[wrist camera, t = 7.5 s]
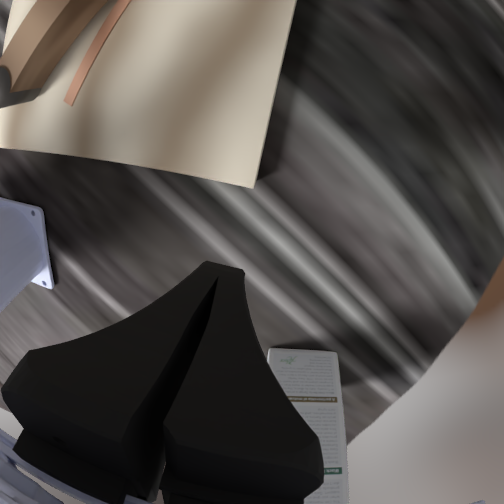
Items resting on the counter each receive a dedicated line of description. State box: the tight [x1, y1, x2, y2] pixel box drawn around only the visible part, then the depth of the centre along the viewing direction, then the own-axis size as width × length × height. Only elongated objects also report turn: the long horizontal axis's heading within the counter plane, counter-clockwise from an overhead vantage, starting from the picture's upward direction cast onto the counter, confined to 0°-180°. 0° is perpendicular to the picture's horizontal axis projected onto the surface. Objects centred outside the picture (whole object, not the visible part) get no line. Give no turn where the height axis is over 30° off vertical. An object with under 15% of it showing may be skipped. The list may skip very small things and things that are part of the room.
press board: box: [0, 0, 297, 189], centre depth 13 cm, size 20×20×2 cm
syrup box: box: [267, 348, 349, 504], centre depth 19 cm, size 6×6×14 cm
